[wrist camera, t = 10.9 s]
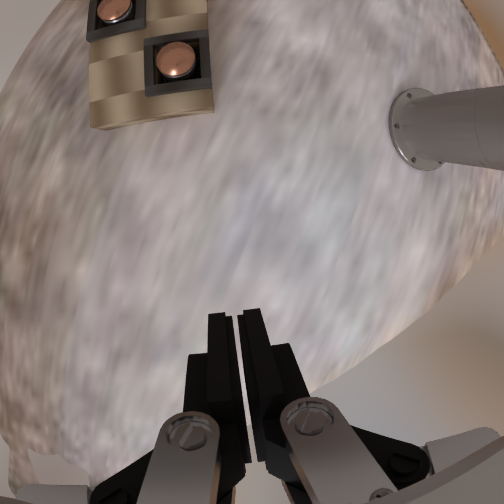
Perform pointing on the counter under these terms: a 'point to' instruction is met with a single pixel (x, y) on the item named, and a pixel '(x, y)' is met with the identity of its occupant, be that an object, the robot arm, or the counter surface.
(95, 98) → the maple block
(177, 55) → the peg
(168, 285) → the counter surface
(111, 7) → the peg
